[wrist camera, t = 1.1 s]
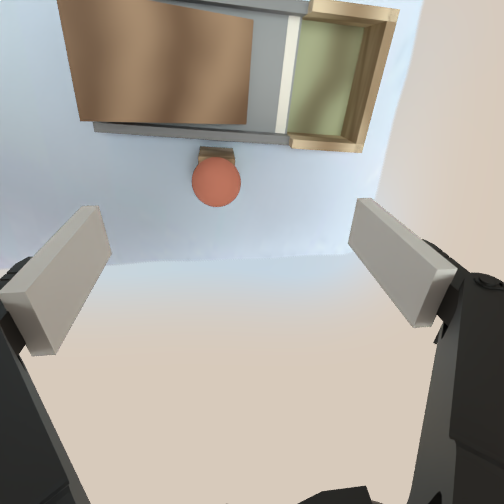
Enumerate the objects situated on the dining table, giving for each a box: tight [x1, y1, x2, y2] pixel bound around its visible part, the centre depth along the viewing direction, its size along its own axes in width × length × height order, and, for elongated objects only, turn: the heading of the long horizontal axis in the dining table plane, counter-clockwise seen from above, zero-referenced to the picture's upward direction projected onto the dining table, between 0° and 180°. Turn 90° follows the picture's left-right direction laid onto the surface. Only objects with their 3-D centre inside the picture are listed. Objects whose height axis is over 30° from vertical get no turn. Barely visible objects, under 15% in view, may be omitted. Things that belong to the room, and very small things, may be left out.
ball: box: [192, 157, 241, 207], centre depth 27 cm, size 4×4×4 cm
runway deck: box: [93, 0, 309, 145], centre depth 27 cm, size 18×11×3 cm, turn 85°
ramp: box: [57, 0, 254, 125], centre depth 24 cm, size 14×8×6 cm, turn 85°
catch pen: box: [287, 0, 400, 153], centre depth 28 cm, size 7×11×4 cm, turn 175°
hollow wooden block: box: [198, 146, 235, 166], centre depth 31 cm, size 3×3×5 cm
